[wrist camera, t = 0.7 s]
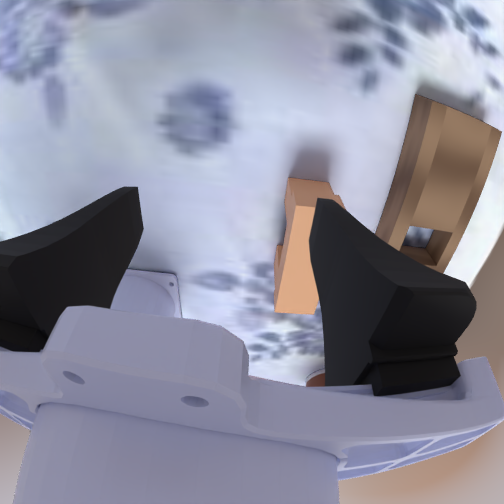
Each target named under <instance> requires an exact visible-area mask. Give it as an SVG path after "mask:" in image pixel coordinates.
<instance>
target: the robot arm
mask: <svg viewBox="0 0 504 504" xmlns="http://www.w3.org/2000/svg"><path fill="white" fill-rule="evenodd" d="M143 229H144V228H143V222H142V215H141V208H140V201H139V193H138V187H122V188H119V189H117V190H115V191H113V192H111V193H109V194H107V195H105V196H104V197H102V198H100V199H98V200H96V201H95V202H93V203H91V204H89V205H87V206H85V207H84V208H82V209H80V210H78V211H76V212H74V213H73V214H71V215H69V216H67V217H65V218H63V219H61V220H59V221H56V222H54V223H52V224H50V225H48V226H45V227H43V228H40V229H37V230H35V231H32V232H30V233H27V234H24V235H21V236H18V237H15V238H12V239H8V240H5V241H1V242H0V414H2V415H4V416H5V417H7V418H9V419H10V420H12V421H14V422H16V423H18V424H20V425H21V426H23V427H25V428H27V429H29V430H30V431H31V433H30V436H29V439H28V443H27V446H26V449H25V453H24V457H23V460H22V464H21V468H20V472H19V476H18V481H17V485H16V490H15V495H14V500H13V504H339V488H338V480H344V479H350V478H356V477H361V476H366V475H370V474H375V473H379V472H383V471H387V470H391V469H395V468H399V467H403V466H406V465H409V464H413V463H416V462H419V461H423V460H426V459H429V458H432V457H435V456H438V455H441V454H444V453H447V452H450V451H453V450H456V449H459V448H461V447H464V446H466V445H467V444H469V443H470V442H472V441H474V440H475V439H477V438H478V437H480V436H482V435H483V434H484V433H486V432H487V431H489V430H490V429H492V428H493V427H495V426H496V425H498V424H499V423H500V422H502V421H503V420H504V402H503V399H502V396H501V394H500V391H499V388H498V385H497V382H496V380H495V377H494V375H493V372H492V370H491V367H490V365H489V362H488V360H487V358H486V357H478V358H473V359H467V360H464V361H461V362H460V363H458V364H456V361H455V359H454V356H455V355H456V354H457V352H458V350H457V348H456V345H455V342H456V341H457V340H458V338H459V337H460V336H461V335H462V333H463V332H464V331H465V329H466V328H467V327H468V325H469V324H470V322H471V321H472V318H473V317H474V314H475V311H476V300H475V298H474V296H473V294H472V293H471V291H470V289H469V287H468V286H467V284H466V283H465V282H463V281H461V280H458V279H456V278H453V277H450V276H448V275H445V274H442V273H440V272H438V271H436V270H434V269H431V268H429V267H427V266H425V265H423V264H421V263H419V262H417V261H415V260H414V259H412V258H410V257H408V256H407V255H405V254H403V253H401V252H400V251H398V250H397V249H395V248H394V247H392V246H391V245H389V244H388V243H386V242H385V241H383V240H382V239H380V238H379V237H378V236H376V235H375V234H374V233H373V232H371V231H370V230H369V229H367V228H366V227H365V226H364V225H363V224H361V223H360V222H359V221H358V220H357V219H356V218H354V217H353V216H352V215H351V214H350V213H349V212H348V211H346V210H345V209H344V208H343V207H342V206H341V205H339V204H338V203H337V202H336V201H334V200H332V199H325V198H317V202H316V207H315V212H314V217H313V222H312V227H311V231H310V236H309V251H310V261H311V265H312V270H313V274H314V279H315V283H316V287H317V292H318V296H319V301H320V306H321V312H322V322H323V334H324V353H325V387H305V386H299V385H293V384H288V383H283V382H278V381H273V380H268V379H264V378H259V377H255V376H250V375H248V366H249V355H248V352H247V349H246V347H245V344H244V342H243V340H241V339H240V338H238V337H237V336H235V335H234V334H232V333H231V332H229V331H228V330H226V329H225V328H223V327H222V326H219V325H215V324H211V323H207V322H204V321H200V320H196V319H186V318H182V316H181V308H180V300H179V292H178V283H177V277H176V276H175V275H173V274H167V273H158V272H149V271H140V270H131V269H127V268H128V266H129V264H130V262H131V259H132V257H133V255H134V253H135V251H136V249H137V247H138V244H139V241H140V238H141V235H142V232H143ZM170 282H171V283H170ZM172 283H173V284H172Z"/></svg>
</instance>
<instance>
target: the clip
mask: <svg viewBox="0 0 504 504" xmlns="http://www.w3.org/2000/svg"><path fill="white" fill-rule="evenodd" d="M317 198H325V199H332V200H334V201H336V202H337V203H338V204H339V205H341V206H342V207H343V208H344V209H345V207H344V205H343V203H342V200H341V198H340V196H339V195H334V193H333V191H332V189H331V186H330V184H329V183H328V182H321V181H313V180H305V179H297V178H288V182H287V188H286V195H285V201H284V203H285V211H286V219H287V227H286V232H285V238H284V243H283V246H282V245H277V249H276V255H275V261H274V276H275V291H274V309H275V312H279V313H295V314H313V315H314V312H315V309H316V307H317V304H318V301H319V296H318V292H317V287H316V283H315V279H314V274H313V270H312V265H311V261H310V251H309V236H310V231H311V227H312V222H313V217H314V212H315V207H316V202H317ZM345 210H346V209H345Z"/></svg>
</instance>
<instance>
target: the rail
mask: <svg viewBox="0 0 504 504" xmlns="http://www.w3.org/2000/svg"><path fill="white" fill-rule="evenodd" d="M501 133H502V132H501V131H500V130H498V129H496V128H494V127H492V126H491V125H489V124H487V123H485V122H483V121H481V120H479V119H477V118H474V117H472V116H470V115H468V114H466V113H463V112H461V111H459V110H456V109H454V108H451V107H449V106H446V105H444V104H441V103H439V102H436V101H433V100H431V99H428V98H425V97H422V96H420V95H417V94H415V98H414V103H413V107H412V112H411V116H410V120H409V124H408V128H407V132H406V136H405V140H404V144H403V148H402V151H401V155H400V159H399V162H398V166H397V169H396V172H395V176H394V179H393V182H392V186H391V189H390V192H389V195H388V198H387V201H386V204H385V207H384V210H383V213H382V216H381V219H380V222H379V225H378V228H377V231H376V233H375V235H376V236H378V237H379V238H380V239H382V240H383V241H385V242H386V243H388V244H389V245H391V246H392V247H394V248H395V249H397V250H398V251H400V252H401V253H403V254H405V255H407V256H408V257H410V258H412V259H414V260H415V261H417V262H419V263H421V264H423V265H425V266H427V267H429V268H431V269H434V270H436V271H438V272H440V273H442V274H443V273H444V271H445V269H446V267H447V265H448V264H449V262H450V260H451V258H452V256H453V254H454V252H455V250H456V248H457V246H458V244H459V242H460V240H461V238H462V236H463V234H464V232H465V230H466V227H467V225H468V223H469V221H470V219H471V216H472V214H473V212H474V209H475V207H476V205H477V202H478V200H479V197H480V195H481V192H482V190H483V187H484V185H485V182H486V179H487V177H488V174H489V171H490V168H491V165H492V162H493V159H494V156H495V153H496V150H497V147H498V144H499V140H500V137H501ZM409 226H416V227H422V228H428V229H434V231H433V233H432V236H431V238H430V240H429V242H428V244H427V247H426V248H419V247H411V246H402V243H403V241H404V238H405V236H406V234H407V231H408V229H409Z"/></svg>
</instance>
